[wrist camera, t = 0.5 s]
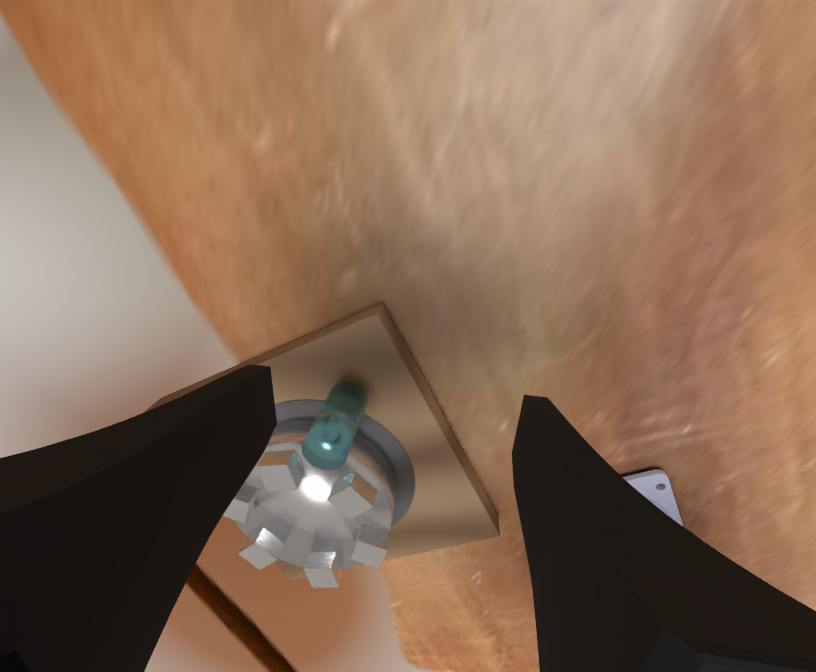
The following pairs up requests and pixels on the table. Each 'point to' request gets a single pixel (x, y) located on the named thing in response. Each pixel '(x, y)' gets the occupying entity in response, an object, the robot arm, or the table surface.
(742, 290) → the table surface
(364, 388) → the dial board
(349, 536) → the rotary knob
